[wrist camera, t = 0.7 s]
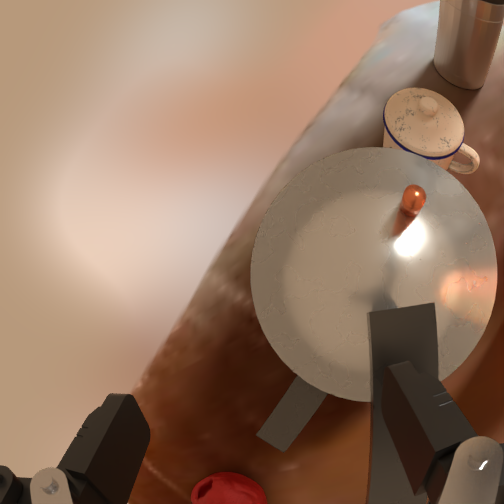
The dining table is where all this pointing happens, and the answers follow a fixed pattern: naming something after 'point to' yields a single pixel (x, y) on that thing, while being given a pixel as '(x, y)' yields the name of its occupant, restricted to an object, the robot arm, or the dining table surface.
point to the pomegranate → (227, 490)
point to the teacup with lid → (427, 128)
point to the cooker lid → (373, 282)
